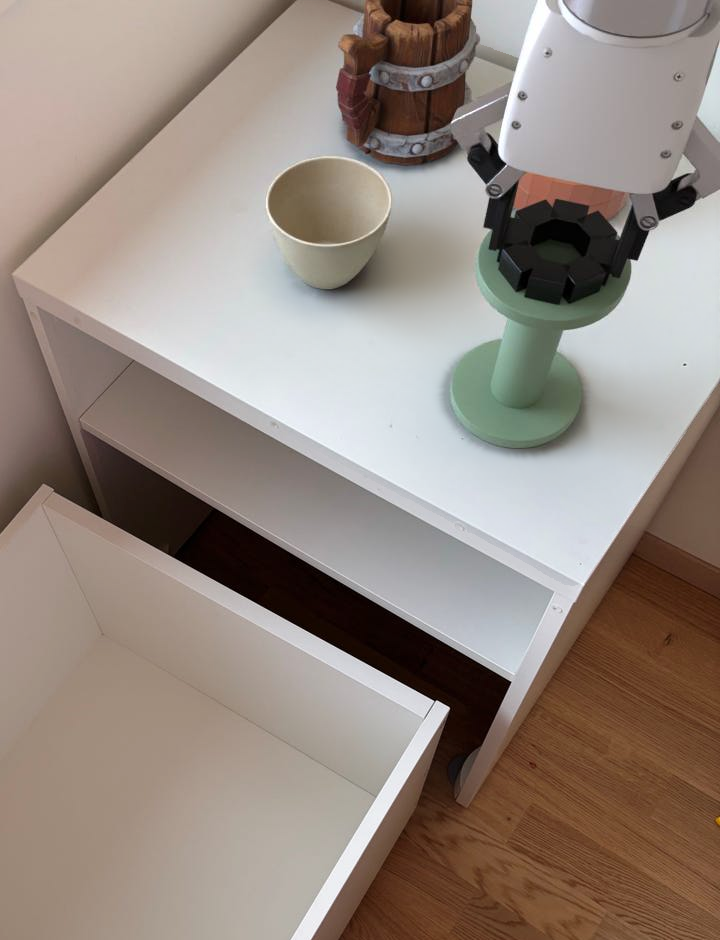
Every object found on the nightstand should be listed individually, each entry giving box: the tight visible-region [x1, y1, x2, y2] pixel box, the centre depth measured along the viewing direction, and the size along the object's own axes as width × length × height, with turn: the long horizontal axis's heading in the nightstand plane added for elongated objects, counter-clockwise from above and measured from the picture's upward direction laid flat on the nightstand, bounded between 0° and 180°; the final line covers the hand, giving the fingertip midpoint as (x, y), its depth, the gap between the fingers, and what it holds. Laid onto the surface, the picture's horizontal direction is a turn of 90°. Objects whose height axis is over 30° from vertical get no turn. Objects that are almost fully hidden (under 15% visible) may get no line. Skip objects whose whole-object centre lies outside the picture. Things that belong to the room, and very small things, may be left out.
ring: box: [497, 199, 619, 305], centre depth 65 cm, size 7×7×2 cm
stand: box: [449, 213, 632, 449], centre depth 72 cm, size 10×10×14 cm
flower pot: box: [265, 155, 393, 290], centre depth 82 cm, size 10×10×7 cm
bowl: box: [513, 172, 630, 221], centre depth 85 cm, size 11×11×5 cm
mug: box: [335, 0, 481, 166], centre depth 86 cm, size 12×14×15 cm
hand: (558, 247), depth 65 cm, fingers closed on ring, 7 cm apart
